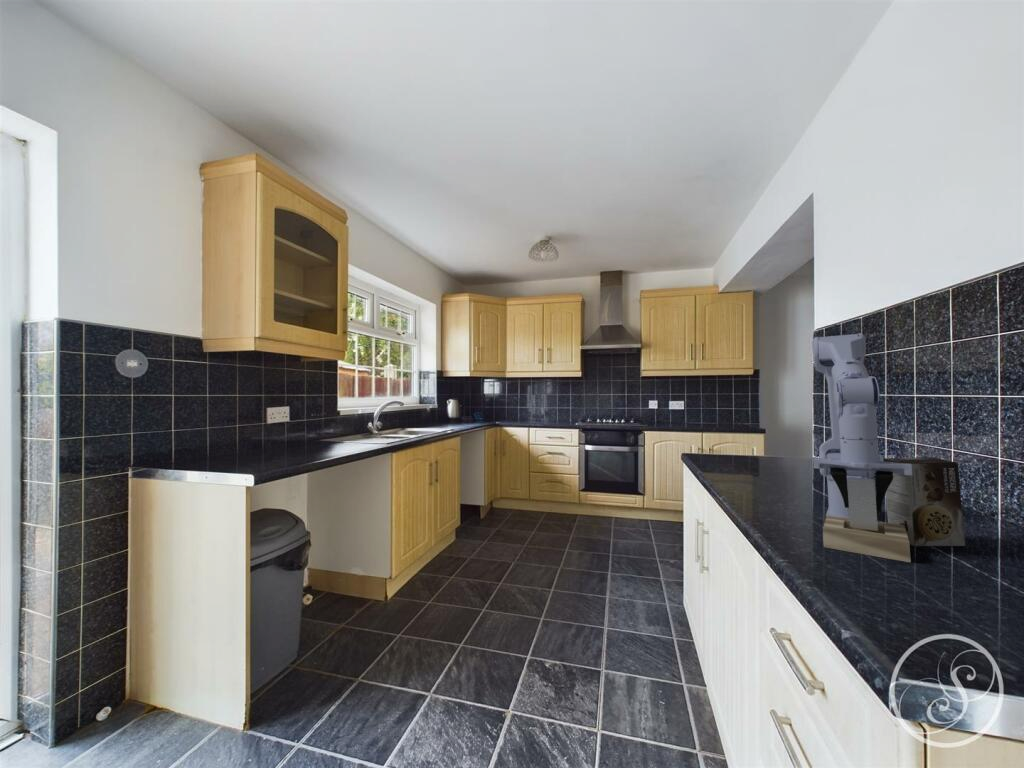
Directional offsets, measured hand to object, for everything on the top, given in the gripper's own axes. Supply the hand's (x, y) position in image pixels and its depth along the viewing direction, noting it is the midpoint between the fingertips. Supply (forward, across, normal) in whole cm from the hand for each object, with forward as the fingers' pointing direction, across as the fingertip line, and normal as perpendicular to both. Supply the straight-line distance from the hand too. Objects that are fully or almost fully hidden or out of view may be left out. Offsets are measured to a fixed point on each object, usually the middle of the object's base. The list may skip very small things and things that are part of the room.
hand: (862, 508), depth 79 cm
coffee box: (+7, +9, +10) cm, 15 cm away
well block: (+7, 0, 0) cm, 7 cm away
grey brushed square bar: (+3, 0, 0) cm, 3 cm away
